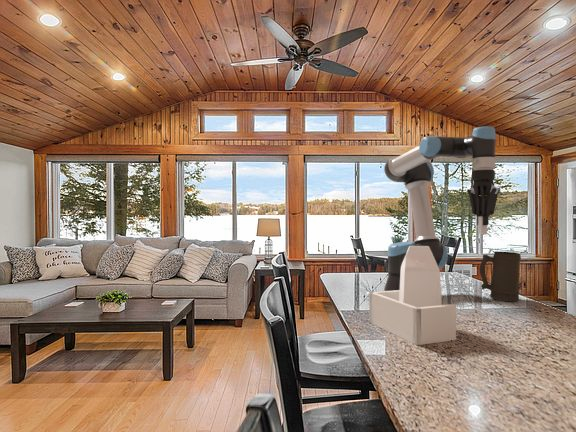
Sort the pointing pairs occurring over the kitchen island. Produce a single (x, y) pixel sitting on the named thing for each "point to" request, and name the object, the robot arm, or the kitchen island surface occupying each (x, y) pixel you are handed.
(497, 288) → the beer stein
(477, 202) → the robot arm
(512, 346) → the kitchen island surface
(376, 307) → the cubby
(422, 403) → the kitchen island surface
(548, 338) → the kitchen island surface
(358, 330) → the kitchen island surface
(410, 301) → the milk
